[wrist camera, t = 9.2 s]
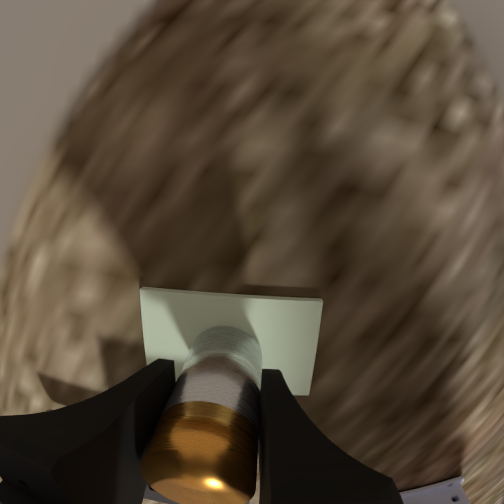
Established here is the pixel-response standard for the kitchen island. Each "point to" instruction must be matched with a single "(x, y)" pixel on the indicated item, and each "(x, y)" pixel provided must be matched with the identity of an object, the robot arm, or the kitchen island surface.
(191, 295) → the mat
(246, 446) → the metal cylinder
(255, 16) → the kitchen island surface
